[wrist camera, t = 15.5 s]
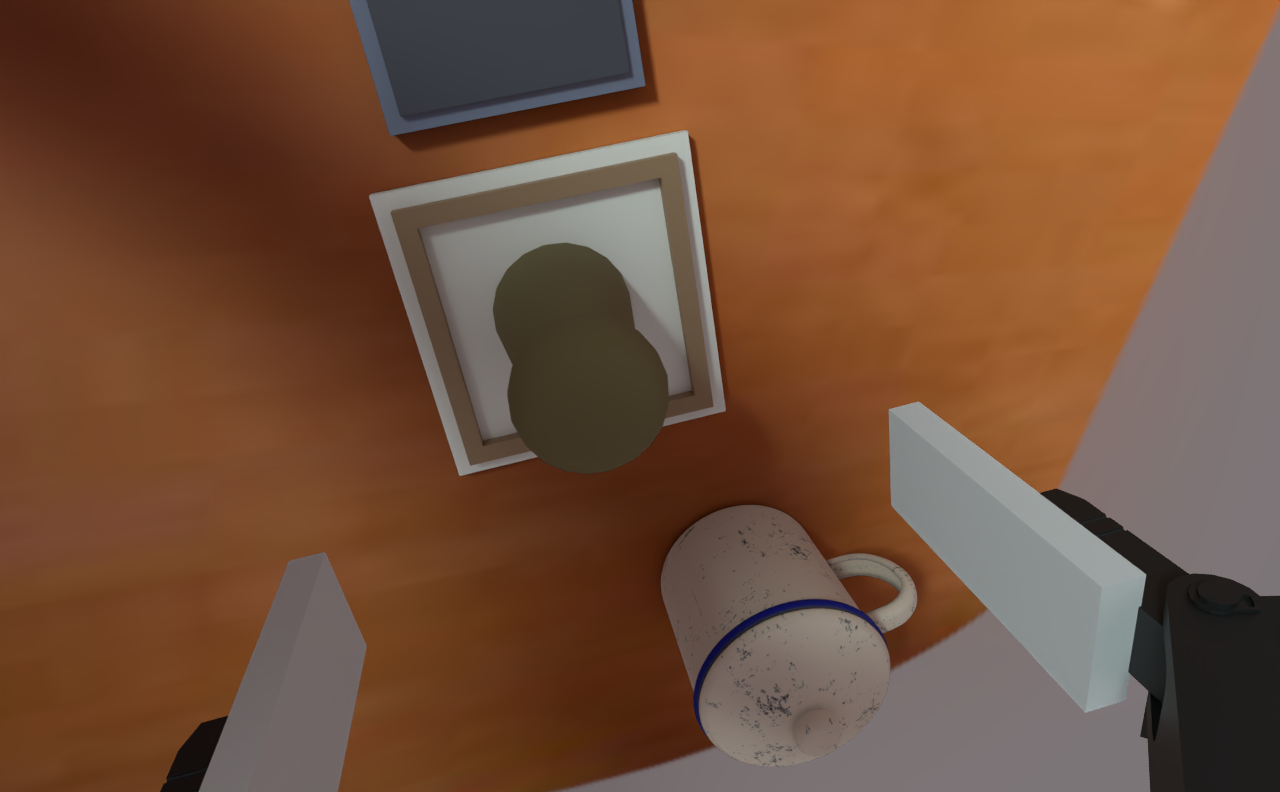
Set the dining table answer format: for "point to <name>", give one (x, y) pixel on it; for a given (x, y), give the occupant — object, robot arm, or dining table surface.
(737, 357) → the dining table surface
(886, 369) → the dining table surface
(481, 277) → the board
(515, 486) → the dining table surface
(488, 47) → the ink pad
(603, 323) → the olive knob handle
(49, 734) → the dining table surface
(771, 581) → the teacup with lid
